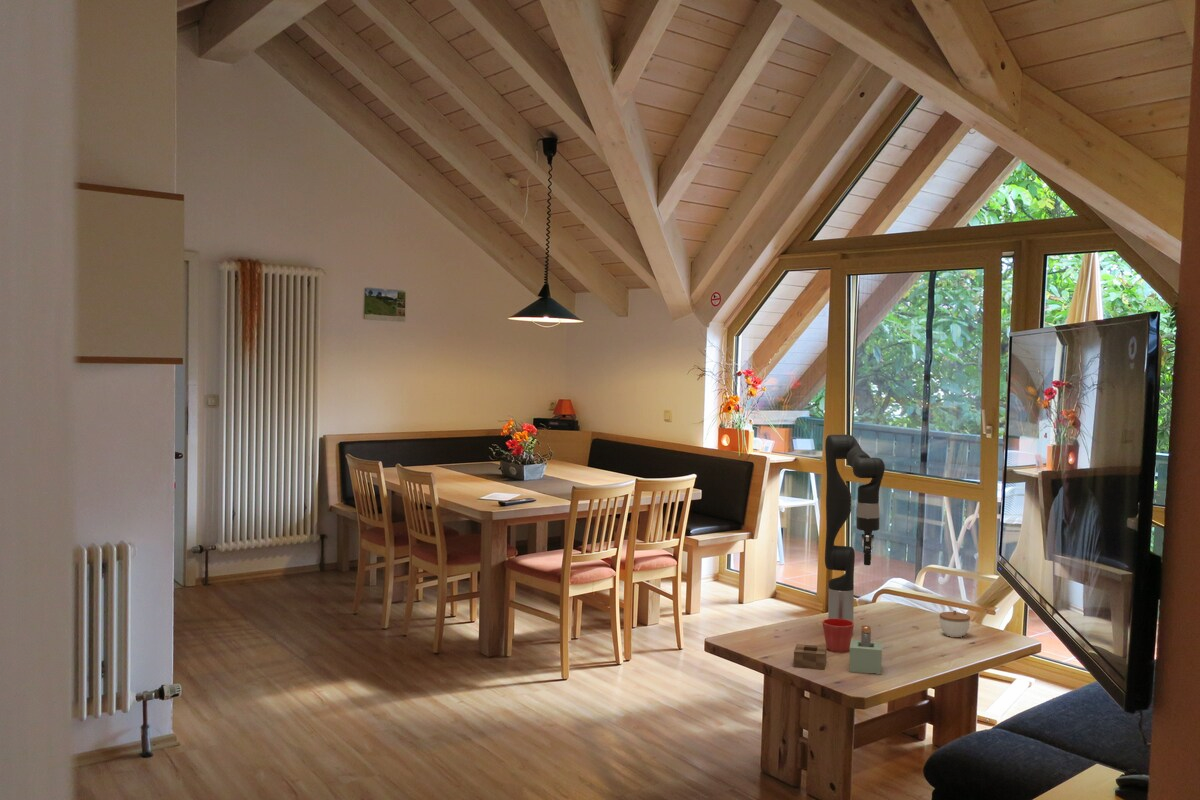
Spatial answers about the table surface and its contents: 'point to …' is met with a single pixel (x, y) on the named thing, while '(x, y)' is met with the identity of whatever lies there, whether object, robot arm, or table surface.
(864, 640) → the pin
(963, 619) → the lidded jar
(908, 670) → the table surface
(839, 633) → the flower pot
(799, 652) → the mount
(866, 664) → the block
